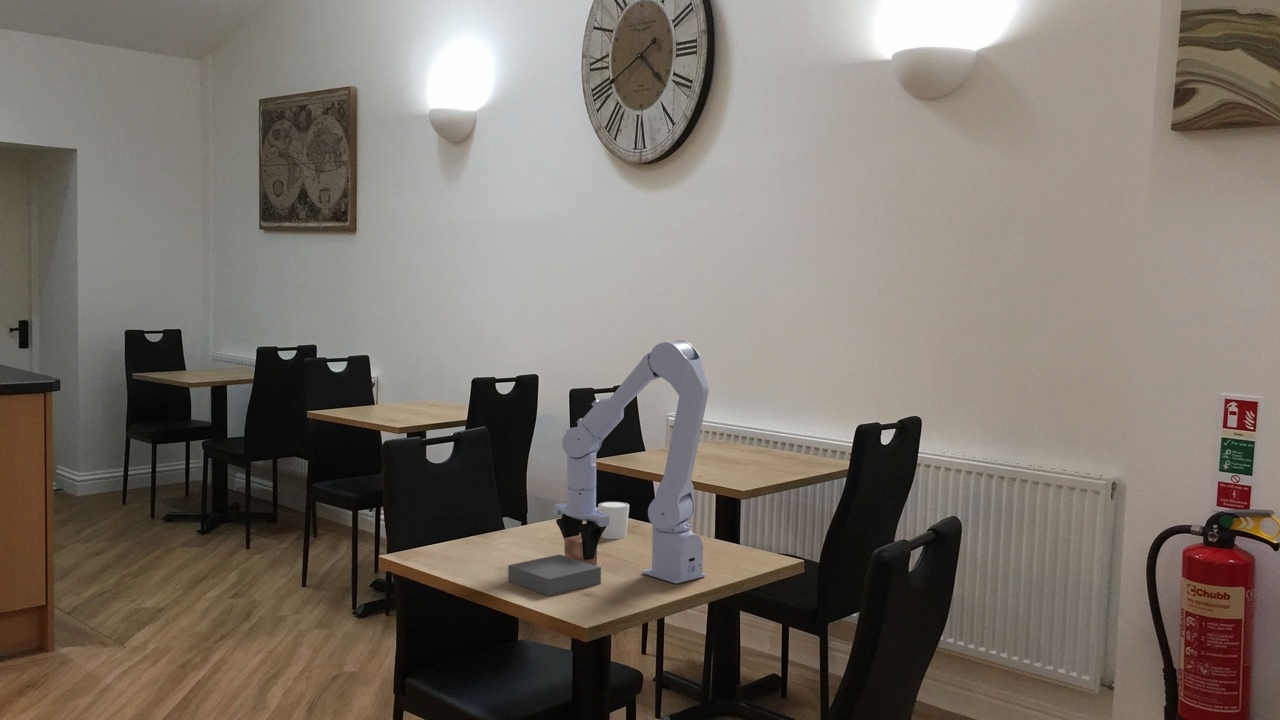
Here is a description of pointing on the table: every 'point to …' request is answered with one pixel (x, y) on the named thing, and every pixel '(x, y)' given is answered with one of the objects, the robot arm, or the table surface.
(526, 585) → the charcoal plinth
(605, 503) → the white tapered cylinder
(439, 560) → the table surface
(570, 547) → the terracotta cube
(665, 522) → the robot arm
